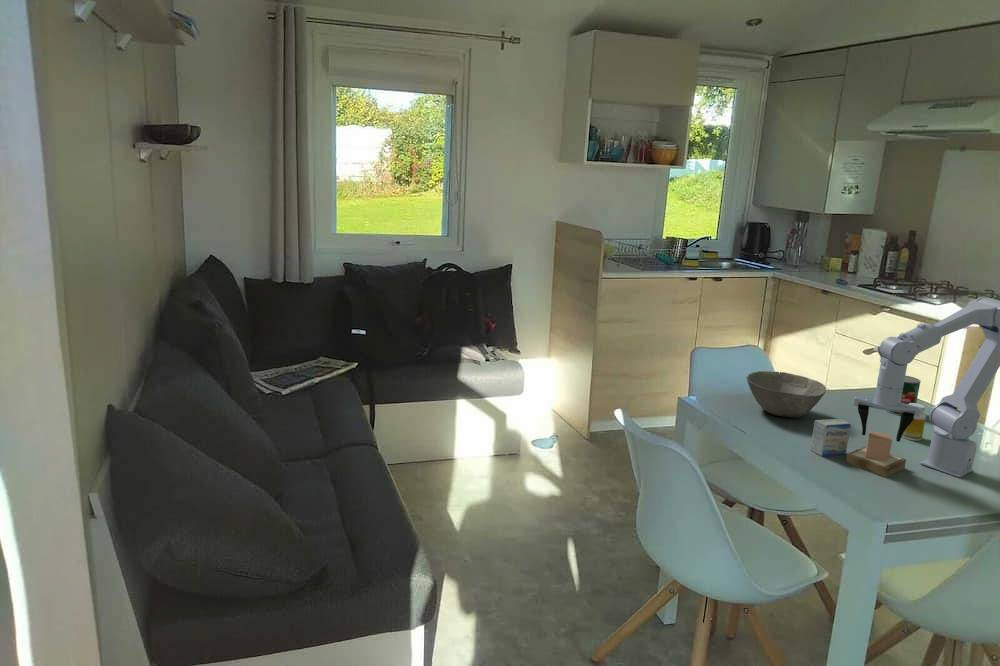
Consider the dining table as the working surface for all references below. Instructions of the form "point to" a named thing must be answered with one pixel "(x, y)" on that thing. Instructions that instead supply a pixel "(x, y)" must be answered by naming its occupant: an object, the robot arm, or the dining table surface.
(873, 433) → the block
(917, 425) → the supplement bottle
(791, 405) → the ceramic bowl
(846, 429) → the medicine box
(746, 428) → the dining table surface
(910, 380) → the canned tomato
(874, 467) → the walnut plinth
